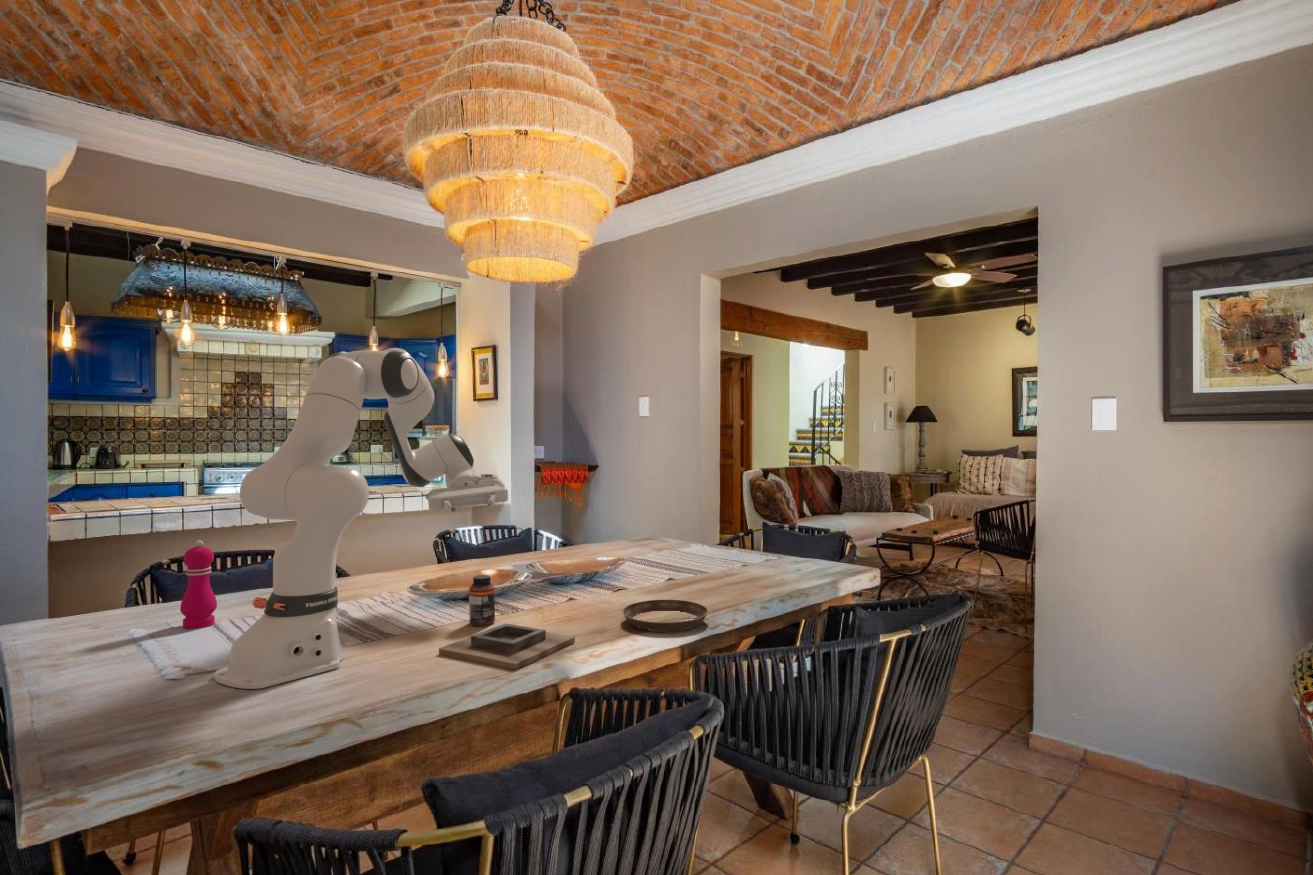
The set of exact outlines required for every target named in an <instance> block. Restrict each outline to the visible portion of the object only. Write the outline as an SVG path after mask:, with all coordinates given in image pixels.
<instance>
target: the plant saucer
mask: <svg viewBox="0 0 1313 875" xmlns="http://www.w3.org/2000/svg"><path fill="white" fill-rule="evenodd" d="M650 611H680V612H686V613H689V614H692V615H695V616H697V617H696V618H693V620H688V621H682V622H648V621H642V620H637V619H633V617H634V616H636V615H637V614H640V613H645V612H650ZM708 613H709V609H708V608H707V607H706V606H704V605H703V604H701V603H698V602H693V601H689V600H681V599H652V600H651V599H650V600H644V601H639V602H634V603H631V604H628V605H626V606H625V607H623V609H622V615H624V618H625V619H626V620H627V621H628V623H629V624H631V625H632V626H633V625H634V626H633V627H635V626H637V627H640V628H644V629H650V630H653V631H652V632H656V633H657V632H659V633H660V632H661V633H674V632H682V631H683V632H684V631H688V630H691V629H693V628H695V627H697V626H699V625H700V624H701V623H702V622H703V621H704V619H705V618H706V617H707V615H708ZM682 619H691V618H689V617H688V618H682ZM637 627H636V628H637ZM640 628H639V629H640Z"/></svg>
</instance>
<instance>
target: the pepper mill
mask: <svg viewBox="0 0 1313 875" xmlns="http://www.w3.org/2000/svg"><path fill="white" fill-rule="evenodd" d="M214 555H215V554H214V551H213V550H212V549H211V548H209V547H207V546H204V542H203V540H201V539H198V540H195V541H194V546H193V547H192V548H191V547H190V548H189V549H188V550H186V551H185V553H184V555H183V563H184V565H185V566H186V567H187V568H186V569H185V570H186V573H185V575H187V577H188V580H187V581H188V583H187V587H186V591H185V593H184V595H183V597H182V600H181V602H180V608H179V611H180V613H181V614H182V615H183V616H184V618H183V619H182V628H183V627H184V628H183V629H187V628H195V629H202V628H201V627H203V628H208V627H211V626H213V625H214V624H215V619H216V618H215V615H214V614H213V613H214V612H215V610H216V609H217V607H218V604H217V603H218V601H217V598H216V597H217V596H216V595H215V593H214V591H213V589H212V587H211V582H210V574H211V573H212V566H211V565H212V563H213V562H214V561H215V560H214V559H215V556H214ZM212 624H213V625H212ZM210 625H211V626H210ZM207 626H208V627H207Z"/></svg>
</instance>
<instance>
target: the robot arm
mask: <svg viewBox="0 0 1313 875" xmlns="http://www.w3.org/2000/svg"><path fill="white" fill-rule="evenodd" d="M364 399H367V400H383V399H386V401H387V404H388V406H387V411H385V413H384V415H383V417H384V418H383V419H384V420H383V421H384V425H385V428H386V429H387V433H388V437H389V438H390V442H391V444H392V447H393V449H394V452H395V454H396V455H395V456H397V458H398V462H399V469H400V472H401V475H402V477H403V479H404V480H405V482H406V483H407V484H408V485H410V486H412V487H417V488H424V487H426V486H427V485H429V484H430V483H432V482H433V481H435V480H436V479H437V480H438V478H440V477H442V476H444V480H445V485H446V487H442V488H441V487H440V488H435V489H431V490H430V491H429V492H428V493H426V494H425V499H426V500H427V502H428V510H430V511H432V512H435V511H436V512H438V511H445V510H446V511H448V512H449V513H455V512H456V509H459V508H468V507H476V506H477V507H478V506H484V505H485V506H486V507H487V508H493V507H494V505H495V504H499V503H500V504H501V503H506V502H507V501H508V499H509V489H508V488H507V486H506V484H505V483H504V481H502V480H500V479H498V478H499V477H498V475H497V474H491V473H490V474H489V473H485V474H484V473H479V472H477V471H476V469H475V468H474V462H475V459H474V457H473V455H472V452H471V450H470V448H469V446H468V445H467V443H466V442H465V441H464V439H463V438H462V437H461V436H460V435H457V434H455V433H450V432H448V433H446V434H444V435H442V436H440V437H438V438H435V439H434V440H432V441H431V442H428V443H426V444H424V445H422V446H420V447H418V448H415V449H411V448H412V447H411V444H410V442H409V440H408V435H409V433H410V432H411V430H413V429H414V427H415V426H417V425H418V423H419V422H420V421H422V420H423V419H425V417H427V415H428V414H429V413H430V412H431V409H432V408H433V405H434V402H435V392H434V389H433V387H432V385H431V382H430V380H429V378H428V377H427V375H426V373H425V372H424V370H423V369H422V367H421V366H420V365H419V363H418V362H417V361H416V360H415V358H413V356H411V354H410V353H409V352H407V351H406V350H405V349H403V348H401V347H400V348H399V347H390V348H386V349H384V350H370V349H364V350H362V349H361V350H352V351H339V352H335V353H332V354H330V355H328V356H327V357H325V359H324V360H323V361H322V362H321V363H320V365H319V366H318V368H317V369H316V372H315V373H314V375H313V377H312V379H311V381H310V383H309V385H308V388H307V390H306V393H305V395H304V397H303V401H302V404H301V407H300V410H299V411H298V412H299V413H298V415H297V417H296V420H295V422H294V425H293V427H292V429H291V431H290V433H289V435H288V436H287V438H286V440H284V442H283V443H282V445H281V446H279V448H278V449H277V450H276V451H275V452H274V454H273V455H272V456H271V457H269V458H268V459H267V460H266V461H265V462H263V463H262V464H260V465H259V466H257V467H255V468H253V469H251V470H250V471H249V472H247V473H246V475H245V476H244V477H243V479H242V481H241V484H240V488H239V498H240V502H241V505H242V507H243V508H244V509H245V510H246V511H247V513H249V514H252V515H255V516H257V517H261V518H265V519H269V520H278V521H281V520H283V521H285V520H286V521H296V528H295V531H294V534H293V536H292V537H291V539H290V540H288V541H286V542H285V543H284V544H282V545H280V546H279V547H278V548H277V550H275V551H274V554H273V558H272V560H273V561H272V592H271V593H270V595H269V598H268V599H267V598H264V597H263V598H262V597H261V596H257V597H255V598H253V600H252V603H251V605H252V607H253V608H255V609H261V610H262V609H264V610H263V613H264V614H263V615H262V616H261V617H260V618H258V619H257V621H255V622H254V623H253V624H252V625H251V626H250V627H249V628H248V629H247V630H246V631H244V632H243V633H242V634H241V635H240V636H239V637H238V638H237V639H236V640H234V642H233V643H232V646H231V648H230V652H229V658H228V662H227V663H228V664H227V666H226V667H223V668H220V669H217V670H216V671H215V672H214V676H213V680H214V681H215V682H217V683H219V684H221V685H224V686H228V687H232V688H236V689H247V690H251V689H252V690H253V689H254V690H255V689H256V690H258V689H264V688H268V687H271V686H276V685H279V684H282V683H287V682H290V681H295V680H297V679H298V680H299V679H302V678H305V677H309V676H313V675H317V674H320V673H324V672H327V671H332V670H336V669H338V668H340V666H341V664H340V663H341V661H342V660H343V659H344V657H345V653H344V651H343V648H342V644H341V640H340V634H339V628H338V621H337V608H338V604H339V602H338V601H339V596H338V595H339V593H338V591H339V590H338V587H337V586H336V571H337V570H336V568H337V566H336V565H337V552H338V547H339V544H340V541H341V538H342V536H343V533H344V532H345V530H346V528H347V527H348V526H349V525H350V523H352V521H353V520H354V519H356V518H357V517H359V515H361V514H362V513H363V511H364V510H365V508H366V507H367V504H368V502H369V498H370V488H369V485H368V481H367V480H366V478H365V476H364V475H363V474H362V473H361V472H360V471H358V470H355V469H351V468H348V467H344V466H339V465H327V464H328V463H329V462H330V461H331V460H332V459H334V458H335V457H337V456H339V455H341V454H342V453H344V452H345V451H346V450H347V449H348V448H349V447H350V446H351V444H352V442H353V438H354V435H355V431H356V428H357V425H358V422H359V417H360V414H361V411H362V407H363V404H364Z"/></svg>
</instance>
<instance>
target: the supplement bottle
mask: <svg viewBox="0 0 1313 875" xmlns="http://www.w3.org/2000/svg"><path fill="white" fill-rule="evenodd" d="M472 578H473V580H472V582H473V583H472V584H471V585H470V586H469V588H468V589H469V590H468V592H469V594H468V595H469V596H468V604H469V607H468V610H469V612H468V614H469V624H470V625H471V626H475V627H485V626H486V627H487V626H490V625H492V624H494V622H495V621H496V619H495V618H496V616H495V614H496V605H495V604H496V598H495V597H496V596H495V595H496V594H495V590H496V589H495V586H494V584H493V583H492V582H491V575H489V574H477V575H474V576H473V577H472Z"/></svg>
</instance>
